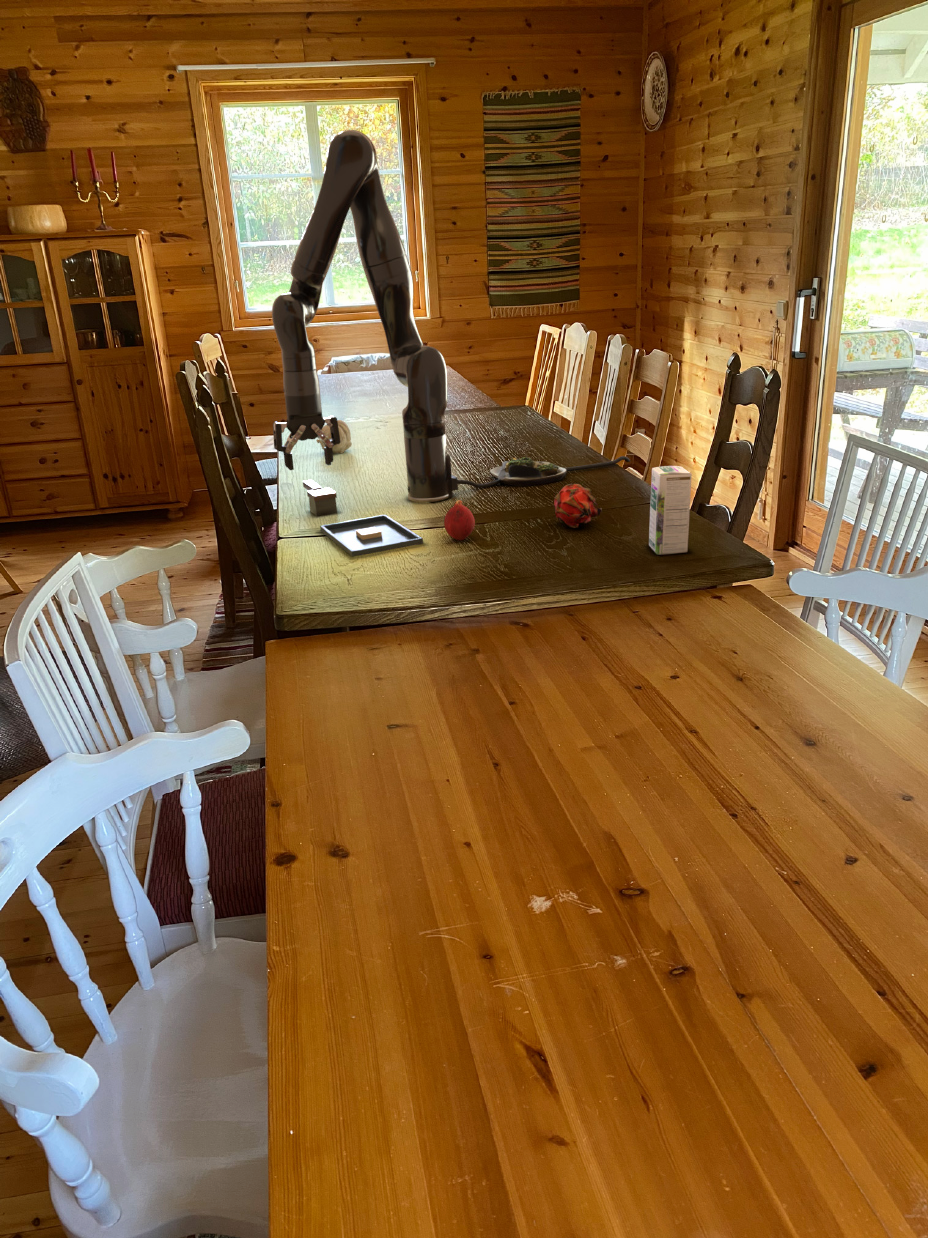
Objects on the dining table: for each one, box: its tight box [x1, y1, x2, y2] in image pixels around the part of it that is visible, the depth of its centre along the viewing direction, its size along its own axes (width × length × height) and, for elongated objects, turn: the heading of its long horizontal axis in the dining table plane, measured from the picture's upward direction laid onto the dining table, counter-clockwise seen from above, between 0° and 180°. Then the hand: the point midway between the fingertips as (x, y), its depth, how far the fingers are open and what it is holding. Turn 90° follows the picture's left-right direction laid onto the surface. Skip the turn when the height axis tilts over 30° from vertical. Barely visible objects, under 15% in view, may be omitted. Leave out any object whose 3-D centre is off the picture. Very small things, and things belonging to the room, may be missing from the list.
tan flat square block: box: [356, 527, 382, 540], centre depth 180 cm, size 4×4×1 cm
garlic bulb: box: [315, 419, 353, 455], centre depth 258 cm, size 9×8×10 cm
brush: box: [302, 479, 338, 518], centre depth 202 cm, size 14×5×5 cm, turn 25°
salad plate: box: [490, 456, 567, 487], centre depth 220 cm, size 19×18×5 cm
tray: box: [319, 514, 424, 558], centre depth 179 cm, size 14×20×1 cm
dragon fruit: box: [553, 483, 602, 529], centre depth 180 cm, size 8×8×12 cm
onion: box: [443, 499, 476, 542], centre depth 173 cm, size 6×6×8 cm
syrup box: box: [648, 465, 693, 556], centre depth 161 cm, size 6×6×14 cm
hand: (309, 467), depth 201 cm, fingers open, 8 cm apart
